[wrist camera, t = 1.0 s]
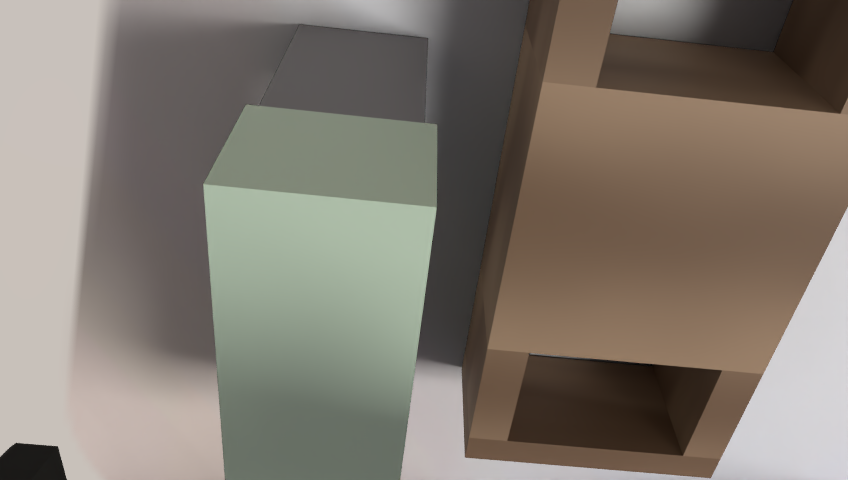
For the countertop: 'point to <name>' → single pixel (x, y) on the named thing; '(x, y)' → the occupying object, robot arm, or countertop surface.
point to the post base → (650, 236)
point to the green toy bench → (323, 259)
